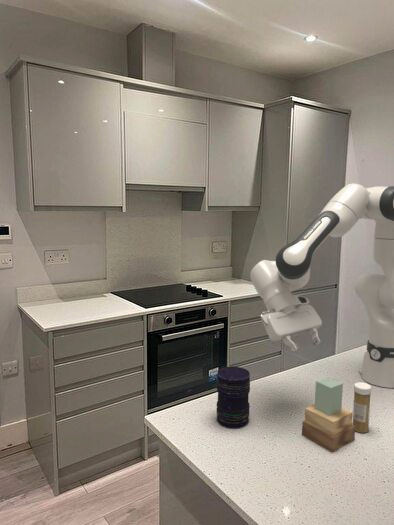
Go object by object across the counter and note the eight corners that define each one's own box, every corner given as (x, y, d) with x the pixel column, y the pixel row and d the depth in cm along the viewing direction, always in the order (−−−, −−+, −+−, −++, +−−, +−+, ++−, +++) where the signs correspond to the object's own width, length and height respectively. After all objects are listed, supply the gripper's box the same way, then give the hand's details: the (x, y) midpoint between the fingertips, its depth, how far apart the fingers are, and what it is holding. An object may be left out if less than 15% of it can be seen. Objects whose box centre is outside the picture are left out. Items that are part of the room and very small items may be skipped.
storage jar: (253, 416, 124) (254, 369, 122) (243, 432, 115) (244, 382, 113) (223, 409, 128) (223, 364, 126) (211, 424, 120) (211, 376, 118)
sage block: (326, 403, 115) (327, 377, 114) (341, 411, 111) (342, 383, 110) (314, 408, 113) (315, 381, 112) (329, 416, 109) (330, 388, 107)
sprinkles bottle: (372, 430, 116) (374, 386, 115) (362, 435, 114) (365, 390, 112) (358, 423, 120) (360, 380, 118) (348, 427, 118) (350, 384, 116)
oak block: (324, 412, 119) (324, 399, 118) (351, 425, 112) (352, 411, 111) (304, 421, 113) (305, 408, 113) (332, 436, 106) (333, 422, 106)
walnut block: (324, 425, 120) (324, 411, 119) (354, 441, 112) (355, 426, 111) (301, 436, 114) (302, 421, 113) (332, 454, 106) (332, 438, 105)
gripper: (263, 306, 116) (288, 349, 109) (310, 297, 128) (335, 334, 121) (252, 318, 120) (276, 359, 114) (299, 307, 132) (322, 345, 125)
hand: (307, 346), depth 118 cm, fingers open, 8 cm apart
